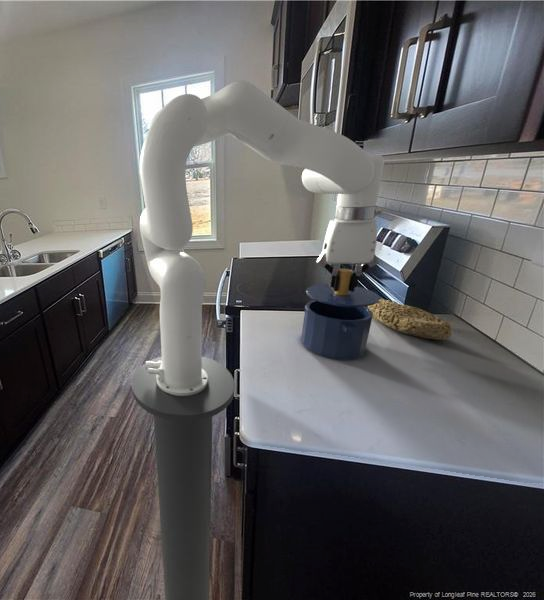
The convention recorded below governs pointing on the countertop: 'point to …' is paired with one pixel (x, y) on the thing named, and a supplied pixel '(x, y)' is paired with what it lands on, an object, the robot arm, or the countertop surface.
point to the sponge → (410, 320)
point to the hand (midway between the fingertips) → (341, 289)
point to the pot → (336, 330)
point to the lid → (343, 293)
